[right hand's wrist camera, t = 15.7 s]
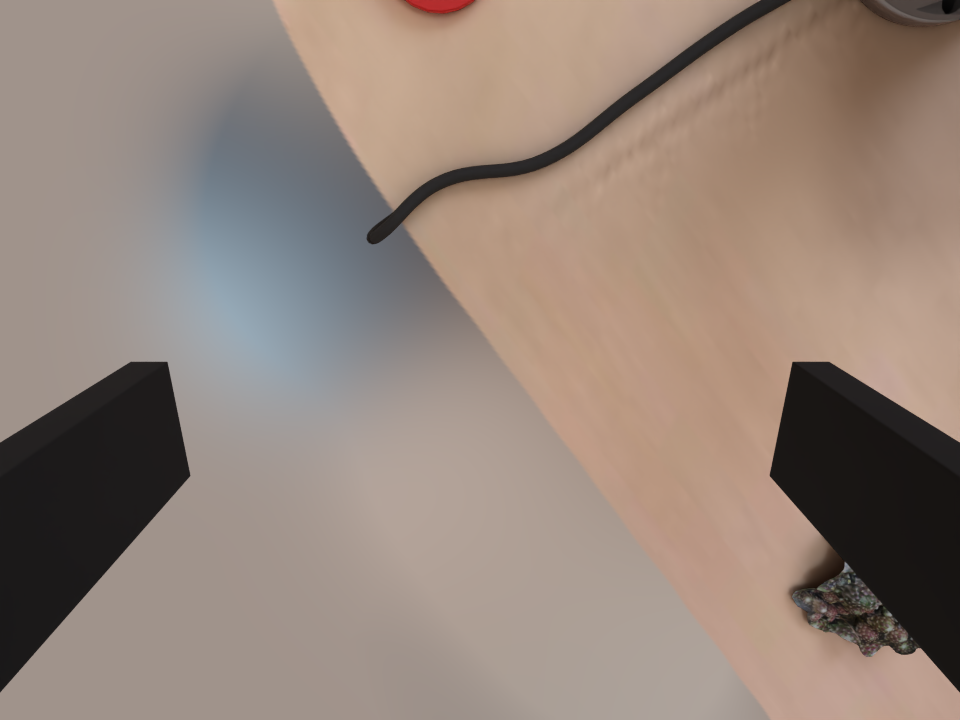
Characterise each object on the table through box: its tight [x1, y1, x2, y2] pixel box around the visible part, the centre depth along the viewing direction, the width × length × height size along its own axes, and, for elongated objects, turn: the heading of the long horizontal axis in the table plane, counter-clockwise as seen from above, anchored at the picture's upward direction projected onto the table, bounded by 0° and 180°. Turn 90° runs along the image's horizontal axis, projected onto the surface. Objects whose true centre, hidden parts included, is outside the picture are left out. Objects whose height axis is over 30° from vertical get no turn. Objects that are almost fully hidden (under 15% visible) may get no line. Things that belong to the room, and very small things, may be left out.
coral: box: [792, 562, 920, 657], centre depth 56 cm, size 17×5×15 cm
